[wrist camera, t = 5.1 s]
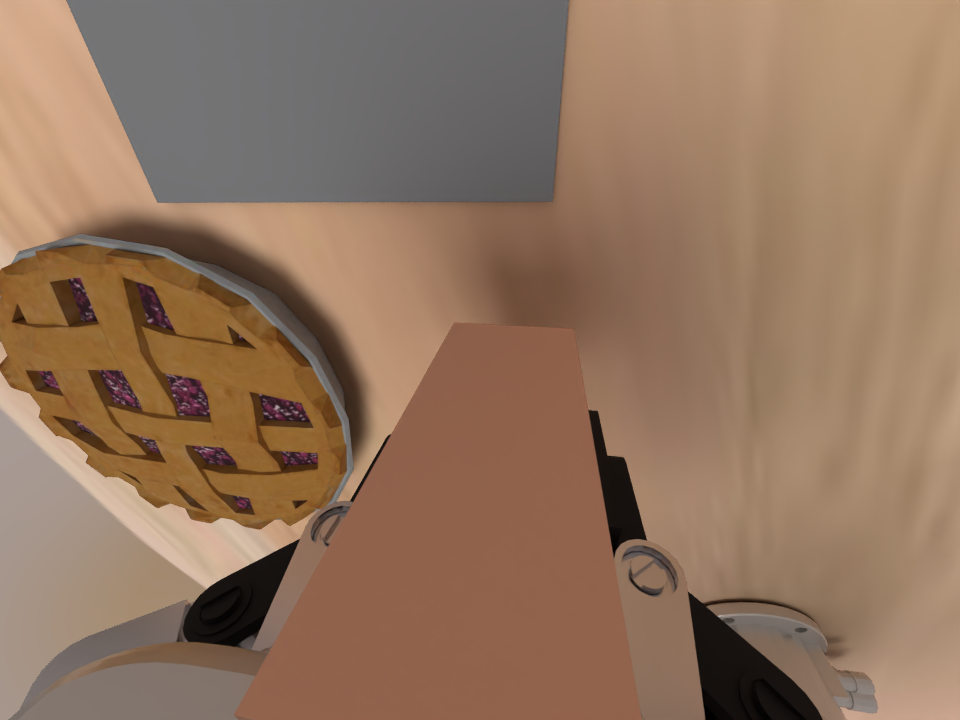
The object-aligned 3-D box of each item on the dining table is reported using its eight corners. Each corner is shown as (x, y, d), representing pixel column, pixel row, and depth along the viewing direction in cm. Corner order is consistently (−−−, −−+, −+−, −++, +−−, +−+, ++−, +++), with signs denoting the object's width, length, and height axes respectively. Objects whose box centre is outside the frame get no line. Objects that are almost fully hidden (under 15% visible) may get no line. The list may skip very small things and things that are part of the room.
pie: (397, 496, 29) (373, 556, 25) (167, 478, 32) (112, 529, 28) (322, 214, 18) (258, 236, 14) (-17, 227, 21) (-155, 249, 17)
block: (574, 328, 12) (658, 814, 3) (557, 463, 15) (574, 905, 6) (454, 322, 12) (233, 714, 4) (461, 453, 15) (349, 842, 6)
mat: (589, -266, 10) (590, -280, 10) (552, 200, 16) (552, 201, 16) (-1, -172, 12) (-16, -181, 12) (164, 201, 19) (157, 202, 18)
